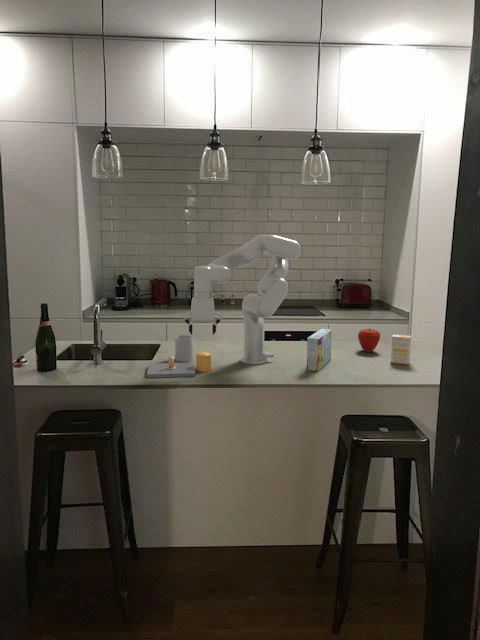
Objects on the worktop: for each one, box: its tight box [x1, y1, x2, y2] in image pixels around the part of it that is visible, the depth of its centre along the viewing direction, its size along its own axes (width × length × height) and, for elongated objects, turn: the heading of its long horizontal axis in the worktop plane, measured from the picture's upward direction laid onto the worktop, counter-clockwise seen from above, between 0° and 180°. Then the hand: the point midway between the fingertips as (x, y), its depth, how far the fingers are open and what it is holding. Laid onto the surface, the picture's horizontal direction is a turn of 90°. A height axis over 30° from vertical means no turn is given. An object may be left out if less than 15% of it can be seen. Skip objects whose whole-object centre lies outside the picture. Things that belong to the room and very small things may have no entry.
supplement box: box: [390, 333, 412, 366], centre depth 232 cm, size 8×5×13 cm, turn 65°
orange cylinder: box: [195, 351, 212, 372], centre depth 220 cm, size 6×6×7 cm
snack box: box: [306, 328, 332, 372], centre depth 227 cm, size 21×6×15 cm, turn 154°
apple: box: [357, 328, 381, 353], centre depth 253 cm, size 11×11×12 cm
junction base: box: [146, 355, 196, 379], centre depth 216 cm, size 20×16×6 cm
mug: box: [174, 334, 194, 363], centre depth 236 cm, size 12×8×11 cm
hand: (202, 333), depth 217 cm, fingers open, 9 cm apart
